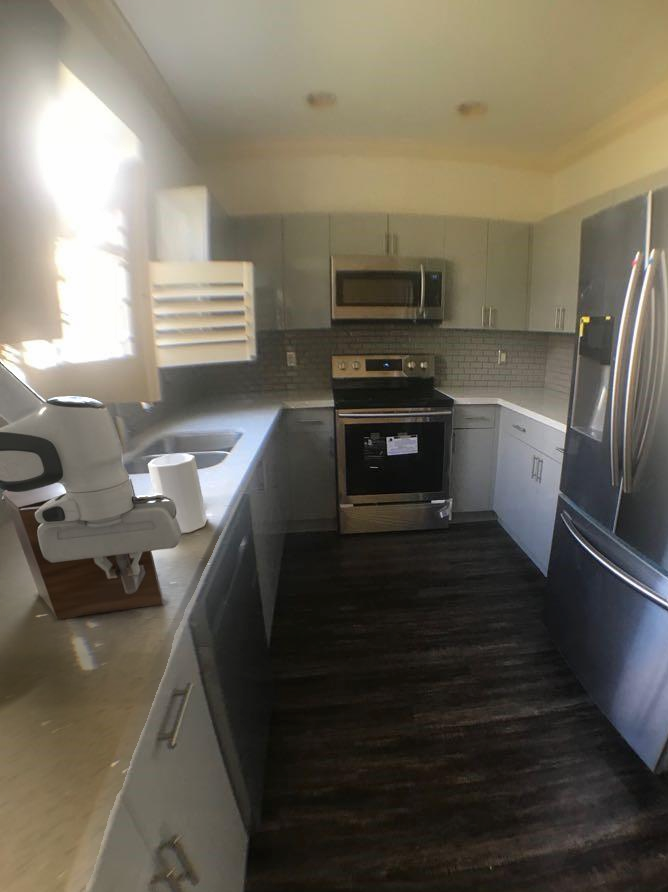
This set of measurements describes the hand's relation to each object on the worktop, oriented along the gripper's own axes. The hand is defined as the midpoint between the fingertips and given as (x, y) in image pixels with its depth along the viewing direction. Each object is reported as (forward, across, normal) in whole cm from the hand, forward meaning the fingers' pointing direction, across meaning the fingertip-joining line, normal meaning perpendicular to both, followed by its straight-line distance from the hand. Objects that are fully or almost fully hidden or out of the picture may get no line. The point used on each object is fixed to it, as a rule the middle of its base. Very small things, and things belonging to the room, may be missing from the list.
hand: (124, 575), depth 78 cm
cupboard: (+11, +13, -18) cm, 25 cm away
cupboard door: (+11, +7, -4) cm, 13 cm away
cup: (+11, 0, -45) cm, 46 cm away
